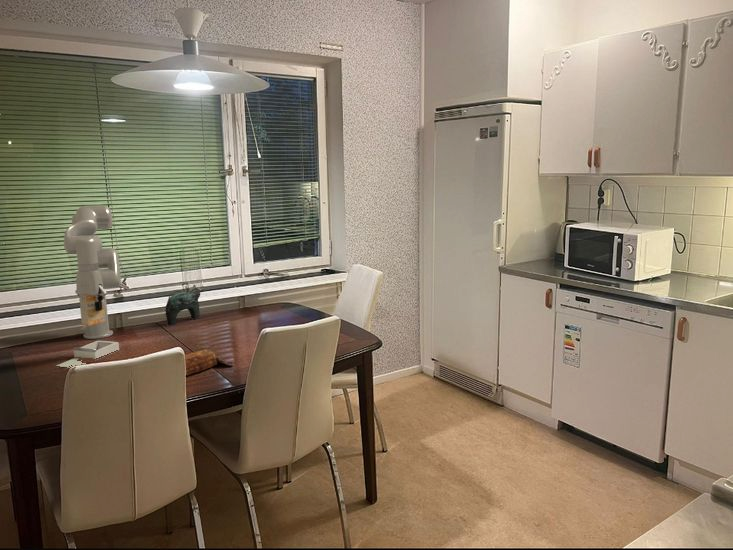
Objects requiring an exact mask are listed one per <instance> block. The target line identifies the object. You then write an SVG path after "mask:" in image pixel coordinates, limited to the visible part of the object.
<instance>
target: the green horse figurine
mask: <svg viewBox="0 0 733 550" xmlns="http://www.w3.org/2000/svg"><path fill="white" fill-rule="evenodd" d="M185 284H186V285H187V286H185V289H186V290H185V291H180V290H175V291H173V292H171V293H170V294H169V296H168V300H167V302H166V305H165V315H166V316H165V317H166V320H167V326H171V325H172V326H175V324H176V325H177V316H178V315H179V313H180V312H182V311H183V310H188V312H189V314H190V317H191V319H192V318H194V319H193V320H197V319H196V318H198V317H200V304H199V298H200V297H201V290H200V288H198V287H197V286H196V284H193V286H191V287H189V286H190V285H189V283H187V282H183V283H182V284H181V286H182V287H183V286H184V285H185ZM198 319H199V318H198Z"/></svg>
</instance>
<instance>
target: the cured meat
mask: <svg viewBox="0 0 733 550" xmlns="http://www.w3.org/2000/svg"><path fill="white" fill-rule="evenodd" d="M185 358H186V371H187V376H189V375H193V374H196V373H199V372H202V371H204V370H206V369H209V368H212V367H215V366H217V365H218V363H219V364H222V365H226V366H231V367H234V366H235V364H234V363H235V362H233V361H229V362H226V361H225V359H224V358H221V359H220V358H218V357H216V354H215V353H214V351H213V350H210V349H203V350H200V351H193V352H191V353H188V354H185Z"/></svg>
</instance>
